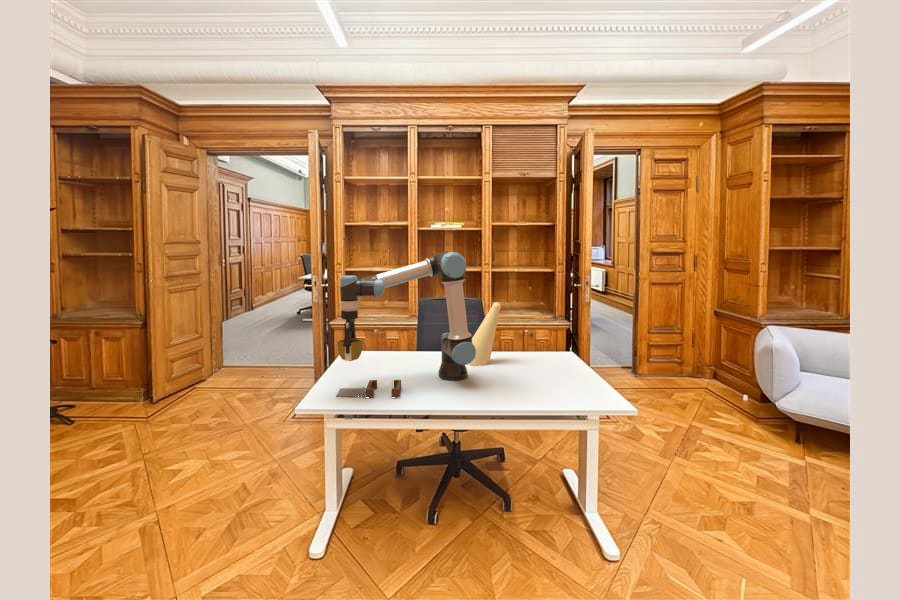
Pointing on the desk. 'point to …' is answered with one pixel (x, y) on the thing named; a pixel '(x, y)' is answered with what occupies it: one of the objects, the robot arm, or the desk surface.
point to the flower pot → (355, 348)
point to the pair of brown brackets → (373, 385)
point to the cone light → (485, 337)
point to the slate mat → (351, 392)
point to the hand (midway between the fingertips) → (350, 357)
